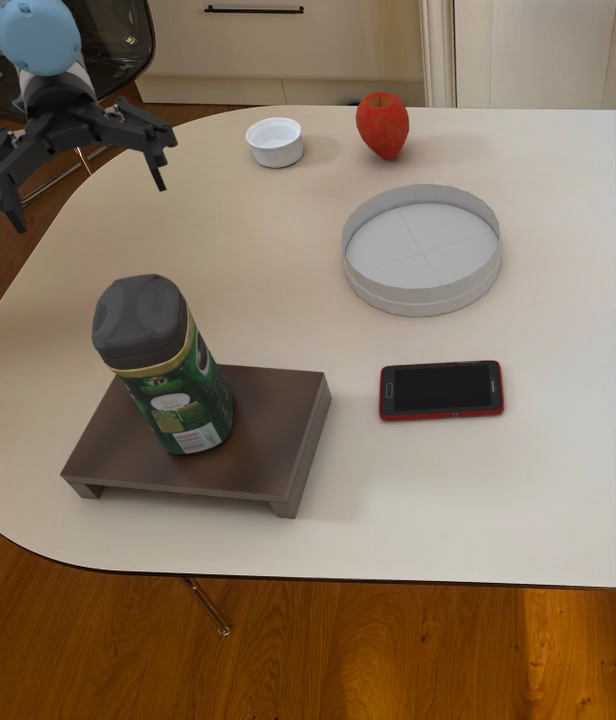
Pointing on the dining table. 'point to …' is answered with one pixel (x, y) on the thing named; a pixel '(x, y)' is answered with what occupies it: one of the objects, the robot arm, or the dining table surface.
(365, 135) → the apple
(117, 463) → the shelf
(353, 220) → the dish
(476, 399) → the cell phone
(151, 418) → the coffee jar
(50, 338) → the dining table surface
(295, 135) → the ramekin
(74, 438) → the dining table surface
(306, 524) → the dining table surface
